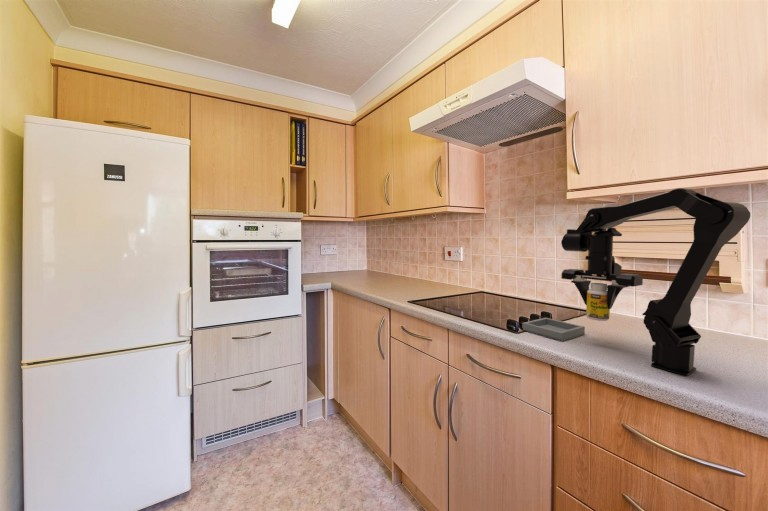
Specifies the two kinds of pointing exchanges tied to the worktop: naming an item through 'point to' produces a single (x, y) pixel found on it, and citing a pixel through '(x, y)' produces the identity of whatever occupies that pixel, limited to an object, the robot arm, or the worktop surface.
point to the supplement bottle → (597, 302)
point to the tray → (554, 329)
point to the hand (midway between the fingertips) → (597, 306)
